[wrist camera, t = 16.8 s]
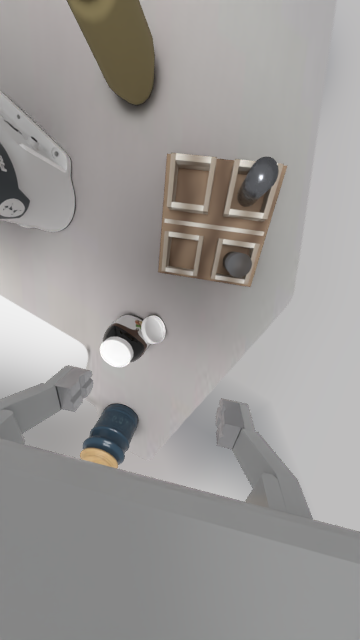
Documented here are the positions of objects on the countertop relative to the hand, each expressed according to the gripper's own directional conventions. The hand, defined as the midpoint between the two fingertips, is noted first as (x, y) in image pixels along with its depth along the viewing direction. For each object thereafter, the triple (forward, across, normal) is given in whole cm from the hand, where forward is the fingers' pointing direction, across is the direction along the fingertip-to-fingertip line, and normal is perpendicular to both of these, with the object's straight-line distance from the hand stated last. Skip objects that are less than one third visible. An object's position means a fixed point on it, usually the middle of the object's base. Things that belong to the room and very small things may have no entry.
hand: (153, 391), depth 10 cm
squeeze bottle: (+31, +14, -31) cm, 46 cm away
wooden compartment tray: (+31, -2, -12) cm, 33 cm away
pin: (+30, -7, -18) cm, 35 cm away
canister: (+31, +18, +50) cm, 62 cm away
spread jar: (+31, +11, +13) cm, 36 cm away
